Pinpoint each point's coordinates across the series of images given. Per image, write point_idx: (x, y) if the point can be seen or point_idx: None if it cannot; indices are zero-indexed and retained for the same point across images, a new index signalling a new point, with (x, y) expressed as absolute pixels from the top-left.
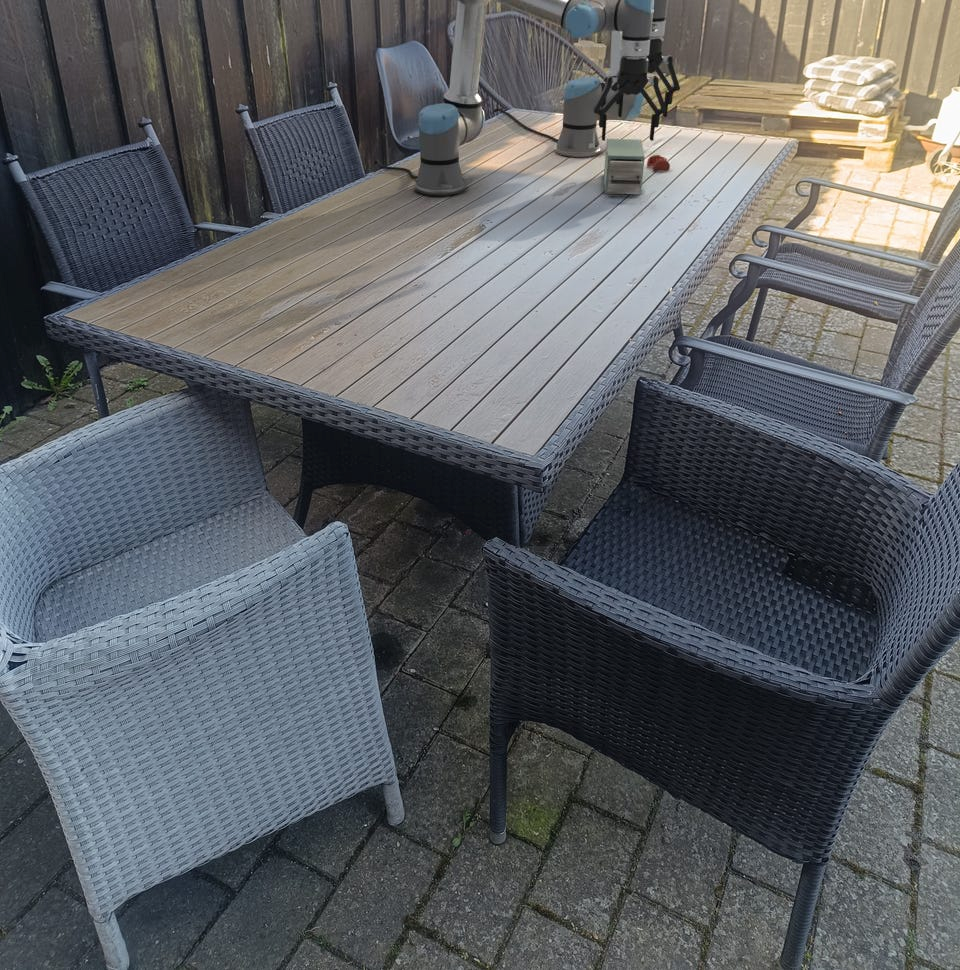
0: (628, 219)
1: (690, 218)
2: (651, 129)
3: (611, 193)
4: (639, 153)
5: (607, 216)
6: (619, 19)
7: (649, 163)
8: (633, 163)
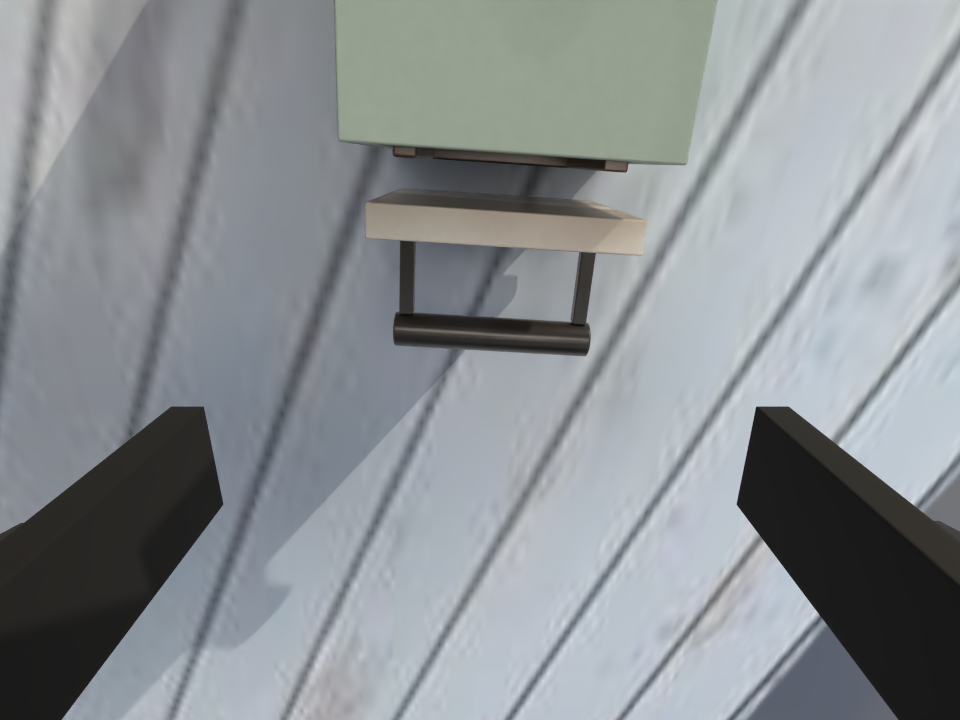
0: (483, 537)
1: None
2: (808, 567)
3: None
4: (661, 46)
5: (395, 507)
6: None
7: None
8: (562, 249)
